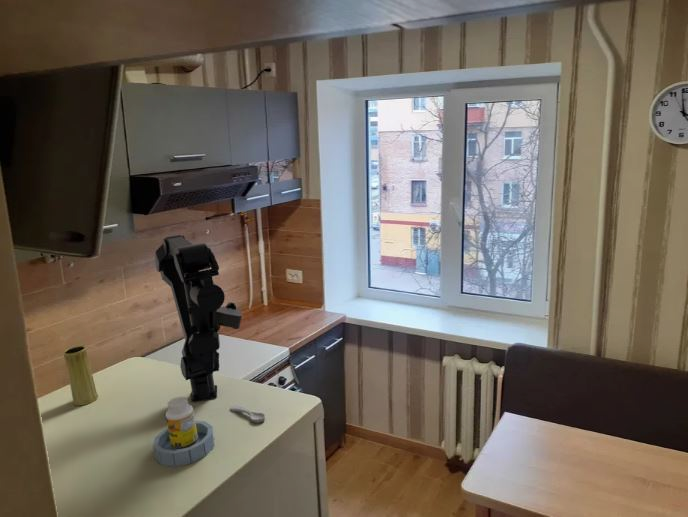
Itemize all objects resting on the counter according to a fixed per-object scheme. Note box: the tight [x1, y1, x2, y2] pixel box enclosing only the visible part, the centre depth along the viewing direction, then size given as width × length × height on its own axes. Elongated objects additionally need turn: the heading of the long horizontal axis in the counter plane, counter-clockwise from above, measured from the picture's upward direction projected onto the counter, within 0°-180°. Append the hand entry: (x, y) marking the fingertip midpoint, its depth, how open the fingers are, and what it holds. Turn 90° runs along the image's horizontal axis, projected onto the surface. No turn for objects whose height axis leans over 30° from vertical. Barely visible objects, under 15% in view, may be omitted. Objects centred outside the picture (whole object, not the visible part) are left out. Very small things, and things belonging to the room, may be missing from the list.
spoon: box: [229, 405, 266, 424], centre depth 122 cm, size 3×12×2 cm, turn 48°
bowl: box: [152, 420, 216, 467], centre depth 110 cm, size 12×12×3 cm
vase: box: [63, 345, 99, 406], centre depth 136 cm, size 6×6×14 cm
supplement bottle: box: [165, 396, 198, 450], centre depth 110 cm, size 6×6×10 cm
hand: (211, 365), depth 120 cm, fingers open, 9 cm apart
